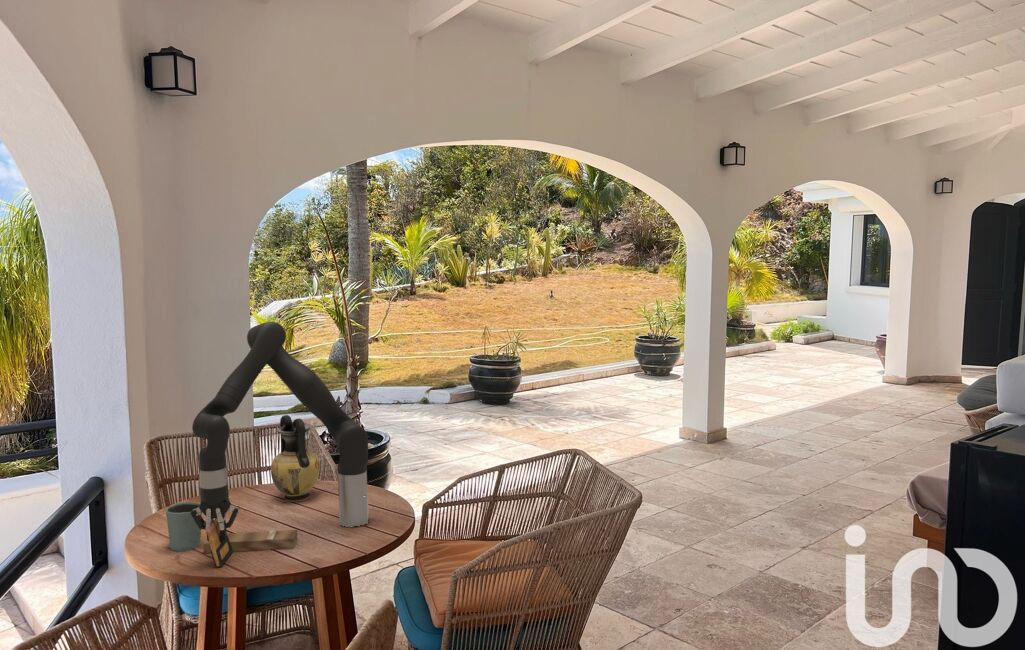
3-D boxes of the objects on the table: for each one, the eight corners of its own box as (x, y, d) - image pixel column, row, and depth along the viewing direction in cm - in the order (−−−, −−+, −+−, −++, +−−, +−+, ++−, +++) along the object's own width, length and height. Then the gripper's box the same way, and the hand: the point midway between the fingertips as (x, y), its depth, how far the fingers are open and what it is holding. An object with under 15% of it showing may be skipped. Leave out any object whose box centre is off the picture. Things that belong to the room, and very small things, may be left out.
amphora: (261, 499, 265) (258, 417, 262) (300, 487, 279) (297, 409, 276) (292, 509, 255) (288, 424, 252) (331, 496, 268) (328, 415, 265)
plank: (297, 539, 228) (297, 529, 228) (293, 548, 221) (293, 537, 221) (210, 544, 225) (209, 533, 225) (203, 553, 218) (202, 542, 218)
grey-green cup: (163, 545, 224) (160, 507, 223) (196, 536, 231) (194, 499, 230) (175, 555, 217) (173, 515, 216) (209, 545, 224) (207, 507, 223)
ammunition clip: (221, 566, 208) (209, 526, 206) (215, 568, 208) (203, 528, 206) (232, 551, 218) (221, 513, 217) (226, 552, 218) (215, 514, 217)
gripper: (242, 478, 215) (245, 535, 217) (192, 480, 213) (195, 538, 215) (235, 486, 207) (238, 545, 209) (184, 488, 206) (187, 548, 208)
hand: (217, 541), depth 212 cm, fingers closed on ammunition clip, 2 cm apart
